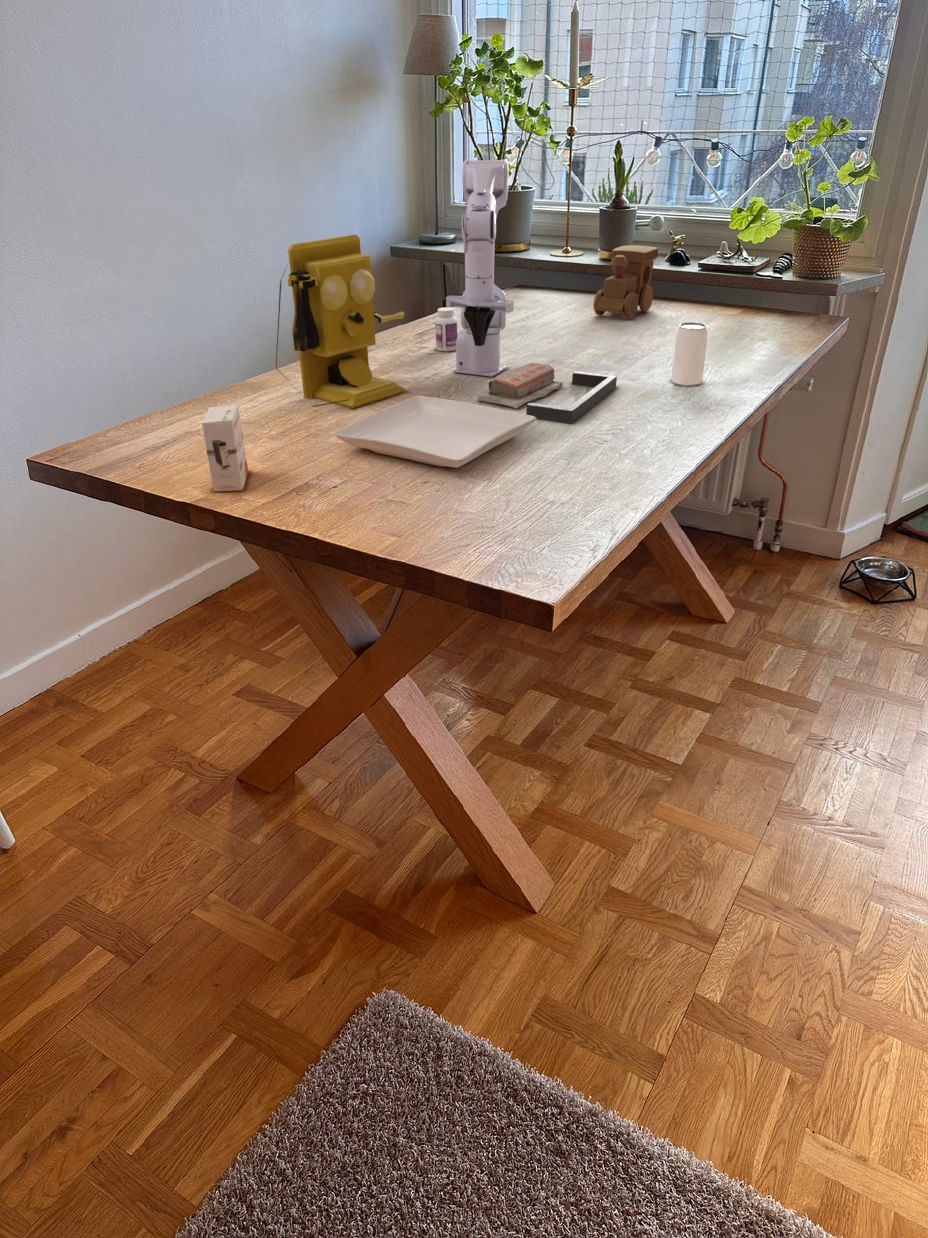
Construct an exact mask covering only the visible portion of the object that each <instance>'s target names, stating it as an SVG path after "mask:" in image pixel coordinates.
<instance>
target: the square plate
mask: <svg viewBox="0 0 928 1238" xmlns="http://www.w3.org/2000/svg"><path fill="white" fill-rule="evenodd" d="M535 421H537V419H536V417H534V416H530V415H526V414H524V413H519V412H515V411H510V410H506V409H502V408H496V407H491V406H486V405H482V404H478V403H477V404H476V403H472V402H467V401H461V400H453V399H448V398H440V397H432V396H427V395H419V394H418V395H414V396H412V397H409V398H406V399H404V400H401V401H399V402H397V403H394V404H391V405H389V406H387V407H385V408H381V409H380V410H377V411H375V412H373V413H370V414H369V415H367V416H364V417H362V418H360V419H358V420H355V421H354V422H352V423H349V424H348V425H346V426H344V427H342V428H339V429H337V430H335V431H334V432H332V435H333V436H335V437H336V438H338V439H339V440H340V441H342V442H343V443H345V444H346V445H347V444H348V445H350V446H353V447H357V448H362V449H367V450H369V451H371V452H373V453H376V454H381V455H385V456H390V457H395V458H399V459H405V460H408V461H409V460H410V461H414V462H418V463H422V464H425V465H431V466H436V467H447V468H448V467H449V468H460V467H461V466H464V465H466V464H467V463H470V462H472V461H473V460H475V459H477V458H478V457H480V456H481V455H483V454H486V452H488V451H490V450H491V449H494V448H496V447H497V446H499V445H501V444H503V443H505V442H507V441H509V440H510V439H512V438H514V437H516V436H517V435H519V434H521V433H522V432H524V431H525V430H527V429H528V428H529V427H531V425H532V424H533V423H534V422H535Z"/></svg>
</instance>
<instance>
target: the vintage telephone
mask: <svg viewBox="0 0 928 1238" xmlns="http://www.w3.org/2000/svg"><path fill="white" fill-rule="evenodd" d="M361 247H362V246H361V238H360V237H359V235H357V234H349V235H342V236H336V237H330V238H323V239H315V240H310V241H304V242H297V243H291V244H290V245H289V247H288V249H287V252H288V261H289V262H288V263H287V264H286V266H285V268H284V271H283V273H282V275H281V277H280V280H279V294H278V295H279V297H278V314H277V315H278V316H277V333H276V334H277V337H276V350H278V349H279V333H280V332H279V331H280V329H279V328H280V312H281V295H282V280H283V278H284V275H285V272H286V270H287V267H288V265H289V272H290V273H289V274H288V278H287V286H288V287H291V288H292V289H291V290H292V299H293V308H294V317H293V324H292V333H291V334H292V342H293V350H294V351H295V352H296V351H298V354H299V364H300V374H301V381H302V391H303V392H302V393H303V398H304V399H313V398H316V399H320V400H323V401H325V403H321V404H316V405H311V404H310V406H311V407H312V408H315V407H320V406H326V405H331V404H336V405H339V406H343V407H345V408H349V409H352V410H353V409H356V408H359V407H362V406H365V405H368V404H372V403H376V402H378V401H381V400H385V399H388V398H391V397H394V396H397V395H401V394H403V393H405V392H406V391H407V389H406V388H404V387H402V386H400V385H399V384H398V383H396V382H394V381H390V380H386V379H383V378H380V377H375V376H373V374H372V371H371V368H370V363H369V348H368V347H372V346H376V344H377V343H376V329H375V326H376V325H375V319H377V320H378V323H379V324H383V323H387V322H389V321H393V320H401V319H402V320H403V319H404V318H405V315H406V313H405V312H404V311H398V312H396V313H394V314H389V315H381V314H379V313H377V312H376V311H375V310H374V297H373V296H374V294H375V291H376V281H375V278H374V277H373V275H372V267H371V266H372V265H371V264H372V263H371V255H370V254H364V253H362V248H361ZM275 353H276V354H275V355H276V357H275V369H276V370H277V371H278V372H279V373H280V374H281V375H282V376H283V378H285V379H286V380H288V378H287V377H286V375H284V374H283V373H282V372H281V371H280V369H278V366H277V365H278V364H277V363H278V352H275ZM292 387H293V388H294V389H295V390H296V391H297V392H298V393H299V394H301V392H300V391H299V390H298V389H297V388H296V387H295V386H294V385H292ZM326 402H327V403H326Z"/></svg>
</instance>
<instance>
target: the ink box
mask: <svg viewBox="0 0 928 1238" xmlns="http://www.w3.org/2000/svg"><path fill="white" fill-rule="evenodd" d="M241 421H242V420H241V414H240V409H239V405H238V404H231V405H230V404H229V405H220V406H219V405H217V406H210V407H209V408H208V410H207V412H206V414H205V416H204V419H203V421H202V422H201V426H202V432H203V438H204V443H205V450H206V455H207V462H208V466H209V473H210V479H211V484H212V491H213V492H234V491H243V490H244V487H245V484H246V480H247V477H248V473H249V466H248V461H247V454H246V447H245V441H244V434H243V429H242V427H243V426H242V422H241Z"/></svg>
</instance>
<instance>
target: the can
mask: <svg viewBox="0 0 928 1238" xmlns="http://www.w3.org/2000/svg"><path fill="white" fill-rule="evenodd" d="M678 326H679V327H678V329H677V331H676V333H675V341H674V350H673V351H674V352H673V362H672V372H671V381H672V384H675V385H678V386H682V387H694V386H699V385H701V383H702V382H703V376H704V368H705V360H706V354H707V353H706V352H707V343H708V334H709V333H708V330H707V327H708V326H707V324H705V323H702V322H693V321H692V322H691V321H690V322H689V321H687V322H682V323H680V324H679V325H678Z"/></svg>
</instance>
